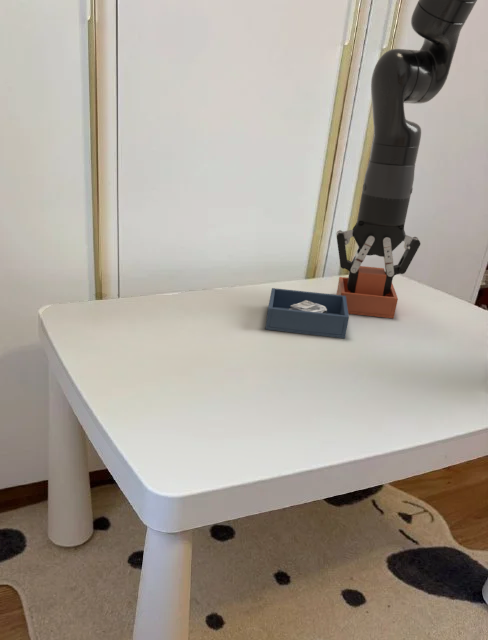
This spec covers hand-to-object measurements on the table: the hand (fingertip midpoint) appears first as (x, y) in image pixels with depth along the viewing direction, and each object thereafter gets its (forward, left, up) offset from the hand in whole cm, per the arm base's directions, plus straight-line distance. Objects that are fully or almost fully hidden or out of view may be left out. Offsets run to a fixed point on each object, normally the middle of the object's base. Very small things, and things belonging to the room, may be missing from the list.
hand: (367, 293), depth 109 cm
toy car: (+10, +11, -2) cm, 15 cm away
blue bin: (+10, +11, -2) cm, 15 cm away
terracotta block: (0, 0, 0) cm, 0 cm away
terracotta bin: (0, 0, -2) cm, 2 cm away
